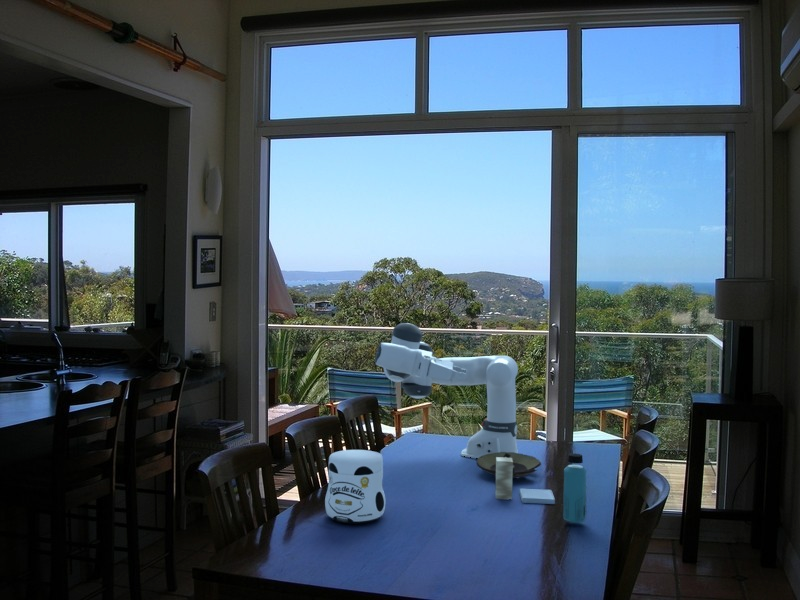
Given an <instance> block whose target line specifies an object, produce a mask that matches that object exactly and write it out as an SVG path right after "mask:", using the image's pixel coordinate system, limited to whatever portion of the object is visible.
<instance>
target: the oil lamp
mask: <svg viewBox="0 0 800 600" xmlns="http://www.w3.org/2000/svg"><path fill="white" fill-rule="evenodd" d="M496 457H503V458H504V457H507V458H512V461H513V475H512V480H513V479H515V478H522V477H525V476H528V475H530V474H533V473H535V472H537V471H538V469H537V468H538V467H540V466H541V465H542V462H541V461H540V460H539V459H538V458H537V457H535V456H532V455H527V454H524V453H520V452H518V453H514V452H500V453H491V454H486V455H483V456H481V457H479V458H478V459H476V466H477V467H478V468H479V469H481V470H483V471H484V472H486V473H488V474H490V475H491V476H492V475H493V476H495V477H496Z"/></svg>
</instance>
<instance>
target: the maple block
mask: <svg viewBox="0 0 800 600" xmlns="http://www.w3.org/2000/svg"><path fill="white" fill-rule="evenodd" d="M512 475H513V461H512V458H503V457H496V476H495V494H494V495H495V499H496V500H509V499H511V500H513V479H512Z"/></svg>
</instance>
